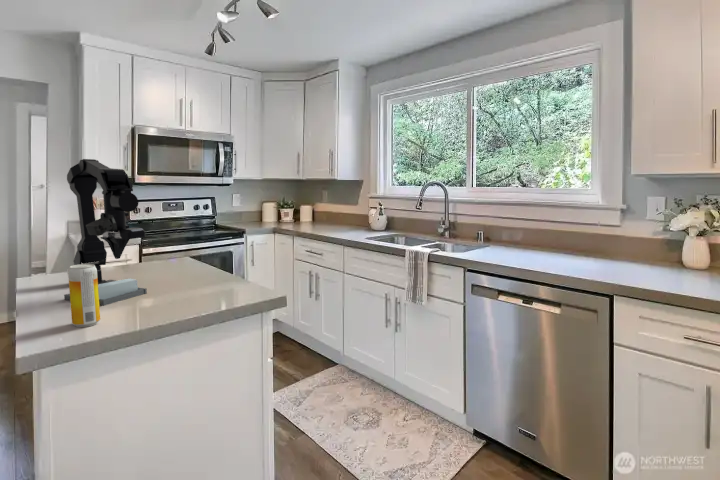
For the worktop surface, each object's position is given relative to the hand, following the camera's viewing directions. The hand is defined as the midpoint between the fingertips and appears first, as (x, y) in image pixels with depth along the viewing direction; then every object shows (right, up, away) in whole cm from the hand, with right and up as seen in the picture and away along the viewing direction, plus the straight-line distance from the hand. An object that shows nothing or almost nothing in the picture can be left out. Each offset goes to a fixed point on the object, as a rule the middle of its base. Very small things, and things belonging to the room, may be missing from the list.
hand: (117, 258), depth 137 cm
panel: (+1, -12, -3) cm, 13 cm away
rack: (-3, -12, -2) cm, 12 cm away
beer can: (+8, -16, -28) cm, 33 cm away
